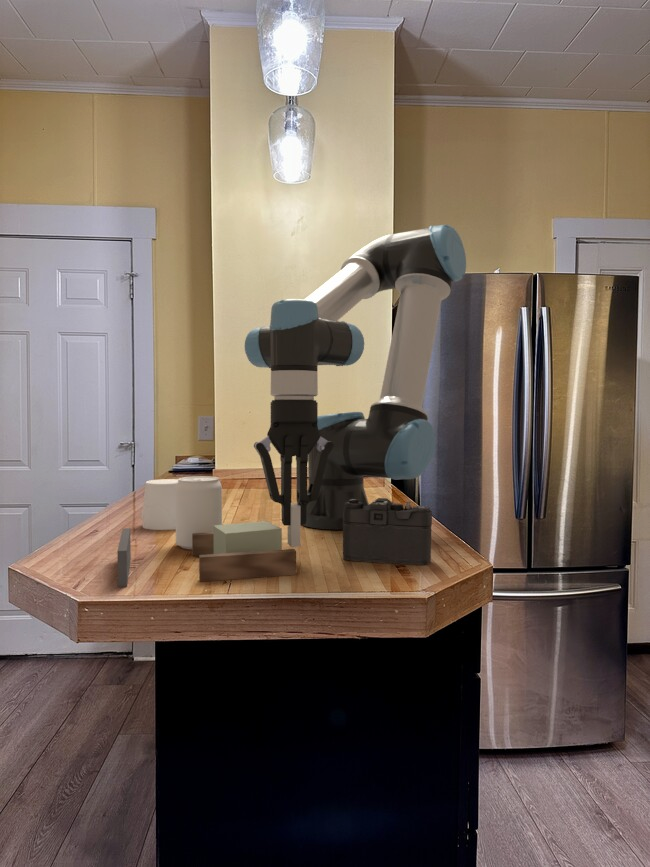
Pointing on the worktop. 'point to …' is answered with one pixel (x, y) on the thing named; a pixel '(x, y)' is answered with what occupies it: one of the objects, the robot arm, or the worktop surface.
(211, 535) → the pair of brown rails
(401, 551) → the camera
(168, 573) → the worktop surface
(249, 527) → the block
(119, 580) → the bar
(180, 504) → the beverage can
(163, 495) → the mug
